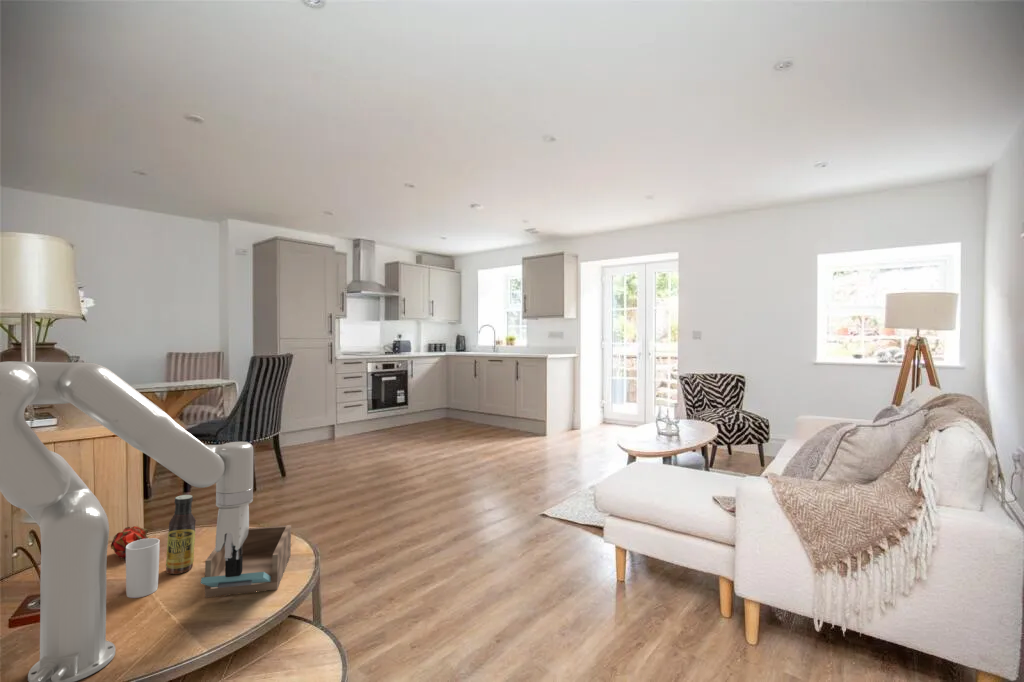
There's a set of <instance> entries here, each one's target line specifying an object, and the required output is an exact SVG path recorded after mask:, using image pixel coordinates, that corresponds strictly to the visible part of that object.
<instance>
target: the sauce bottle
mask: <svg viewBox="0 0 1024 682" xmlns="http://www.w3.org/2000/svg"><path fill="white" fill-rule="evenodd" d="M193 498H194V497H193V495H191V494H182V495H179V496H176V497H175V498H174V504H175V505H174V506H175V507H174V514H173V515H172V517H171V519H170V520H169V523H168V532H167V540H166V541H167V543H166V559H165V570H166V573H167V574H169V575H180V574H183V572H184V573H186V572H189V571H190V570H191V569H192V568H193V567H194V560H195V543H196V542H195V541H196V539H195V538H196V521H197V520H196V518H195V517H194V515H193V514H192V503H193V500H194V499H193Z"/></svg>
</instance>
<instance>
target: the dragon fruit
mask: <svg viewBox="0 0 1024 682" xmlns="http://www.w3.org/2000/svg"><path fill="white" fill-rule="evenodd" d="M148 531H149V530H148V529H147V528H143V527H141V526H140V525H134V526H127V527H124V529H123V530H122V531H120V532H118V533H116V534H115V535H114V536H113V539H112V542H111V544H110V549H111V550H113V552H114V554H115V555H116V556H118V558H119V559H120V560H122V561H126V546H127V545H128V544H129V543H131V542H134V541H137V540H141V539H146V538H150V537H148V536H147V533H148Z"/></svg>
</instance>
